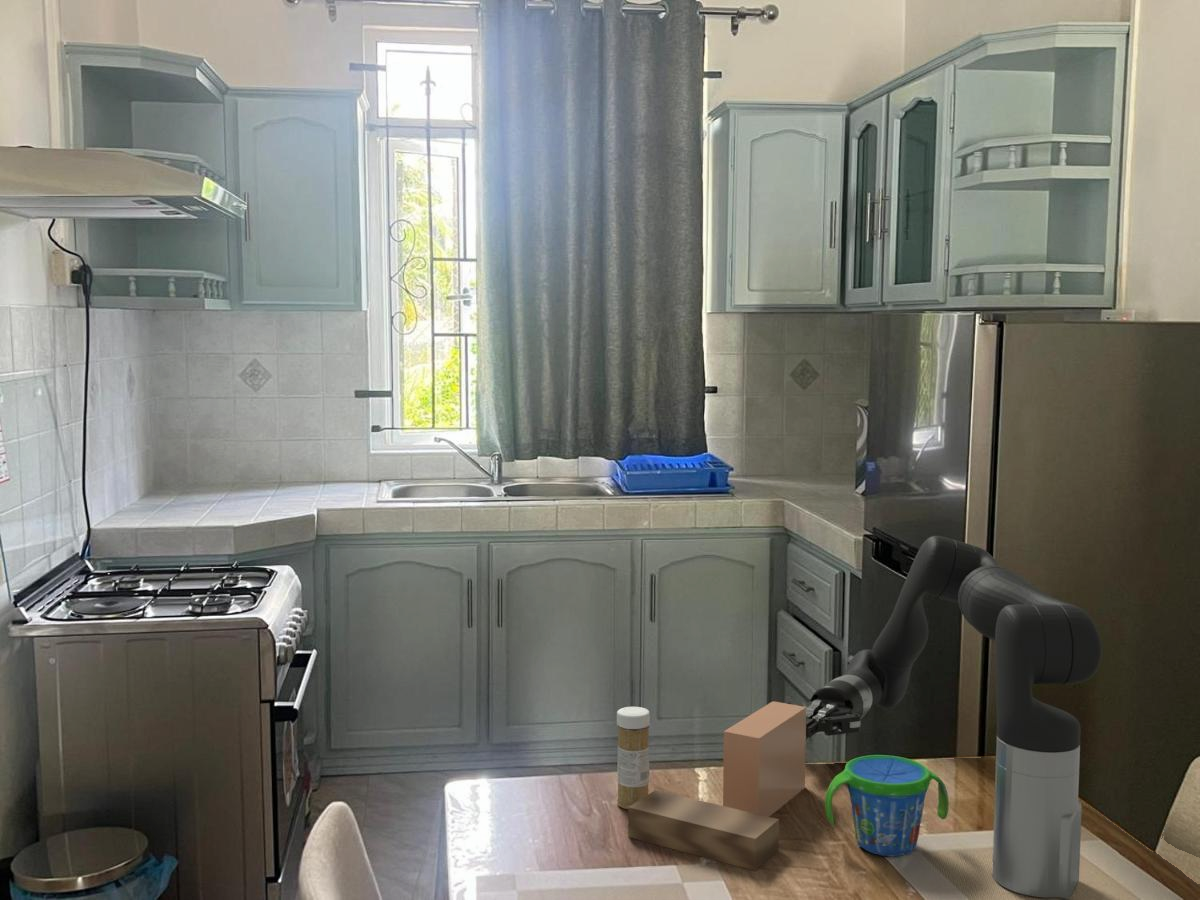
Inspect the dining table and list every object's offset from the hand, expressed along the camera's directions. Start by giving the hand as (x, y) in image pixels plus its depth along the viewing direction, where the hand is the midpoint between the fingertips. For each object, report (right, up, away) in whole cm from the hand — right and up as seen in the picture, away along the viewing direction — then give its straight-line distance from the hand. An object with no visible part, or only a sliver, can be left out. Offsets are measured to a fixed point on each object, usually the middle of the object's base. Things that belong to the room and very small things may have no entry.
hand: (799, 732), depth 170 cm
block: (-6, -7, -9) cm, 14 cm away
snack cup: (+7, -9, -24) cm, 26 cm away
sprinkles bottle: (-25, -8, -11) cm, 28 cm away
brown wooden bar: (-16, -8, -23) cm, 30 cm away
